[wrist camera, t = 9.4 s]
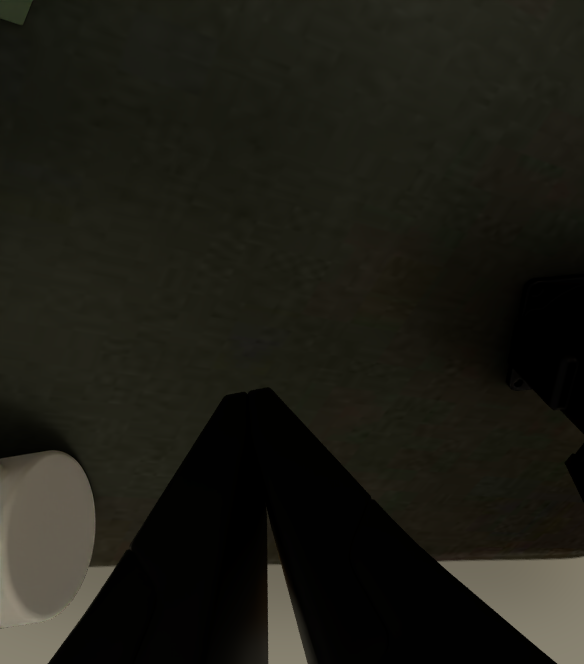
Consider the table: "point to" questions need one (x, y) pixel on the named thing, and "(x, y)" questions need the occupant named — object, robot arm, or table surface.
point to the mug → (43, 535)
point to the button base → (14, 10)
